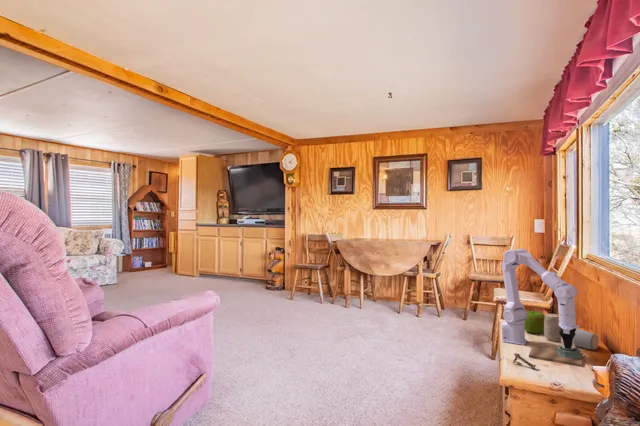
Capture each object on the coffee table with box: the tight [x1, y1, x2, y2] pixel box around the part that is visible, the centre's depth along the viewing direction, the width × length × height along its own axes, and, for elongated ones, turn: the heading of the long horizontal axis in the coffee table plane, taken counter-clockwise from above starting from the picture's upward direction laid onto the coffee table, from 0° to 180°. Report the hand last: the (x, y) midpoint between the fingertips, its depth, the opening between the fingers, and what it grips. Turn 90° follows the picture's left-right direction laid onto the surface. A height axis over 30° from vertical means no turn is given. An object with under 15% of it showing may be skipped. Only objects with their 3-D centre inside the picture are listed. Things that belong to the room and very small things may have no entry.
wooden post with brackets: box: [512, 352, 537, 370], centre depth 142 cm, size 2×8×4 cm, turn 41°
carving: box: [543, 313, 561, 343], centre depth 170 cm, size 6×8×12 cm
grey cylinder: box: [574, 328, 599, 351], centre depth 160 cm, size 11×8×8 cm
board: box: [528, 345, 584, 367], centre depth 150 cm, size 18×14×4 cm
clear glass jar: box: [560, 337, 575, 352], centre depth 149 cm, size 4×4×7 cm
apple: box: [524, 310, 545, 335], centre depth 182 cm, size 11×11×11 cm
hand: (568, 346), depth 149 cm, fingers closed on clear glass jar, 4 cm apart
